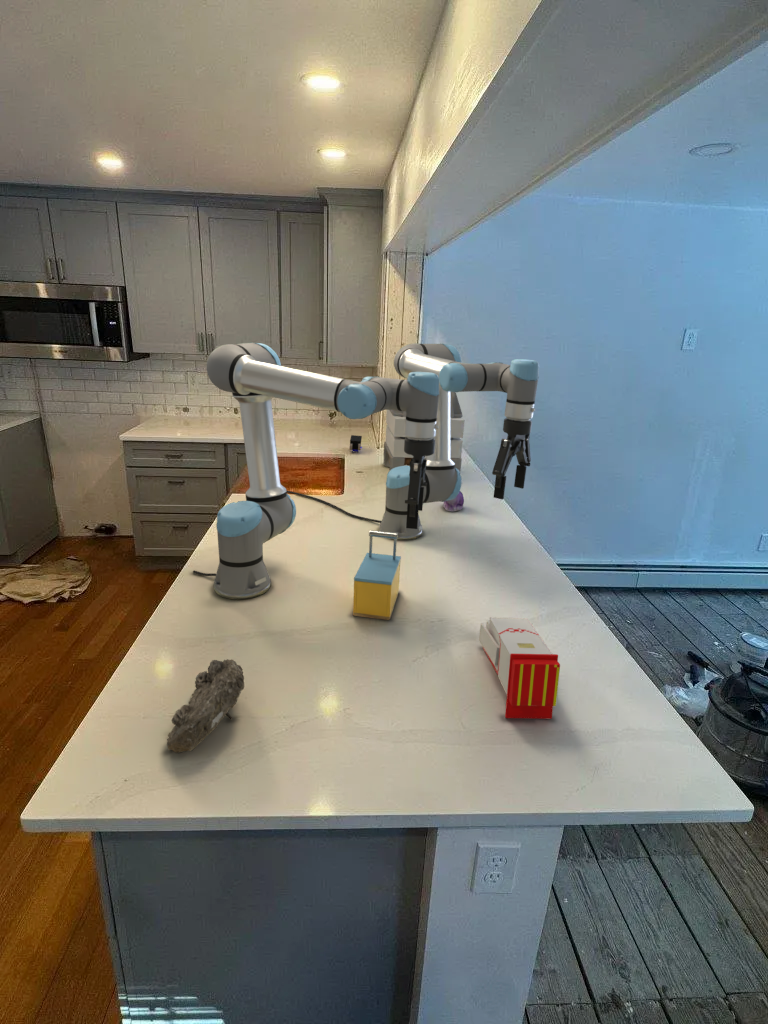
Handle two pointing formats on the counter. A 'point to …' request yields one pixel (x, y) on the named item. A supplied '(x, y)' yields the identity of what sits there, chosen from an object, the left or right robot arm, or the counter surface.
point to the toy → (522, 666)
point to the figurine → (454, 503)
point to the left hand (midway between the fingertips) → (414, 518)
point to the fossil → (206, 705)
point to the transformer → (396, 436)
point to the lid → (379, 562)
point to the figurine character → (355, 443)
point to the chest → (375, 598)
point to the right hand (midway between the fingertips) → (508, 492)
